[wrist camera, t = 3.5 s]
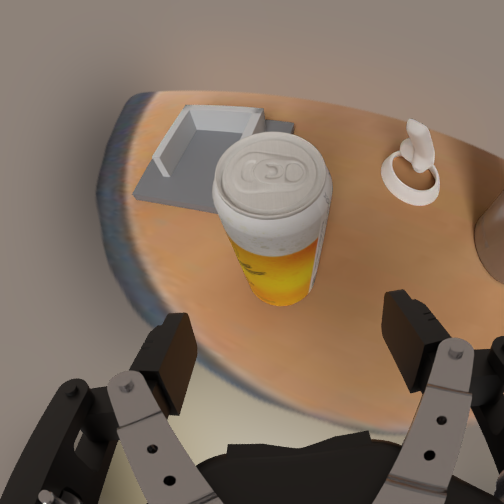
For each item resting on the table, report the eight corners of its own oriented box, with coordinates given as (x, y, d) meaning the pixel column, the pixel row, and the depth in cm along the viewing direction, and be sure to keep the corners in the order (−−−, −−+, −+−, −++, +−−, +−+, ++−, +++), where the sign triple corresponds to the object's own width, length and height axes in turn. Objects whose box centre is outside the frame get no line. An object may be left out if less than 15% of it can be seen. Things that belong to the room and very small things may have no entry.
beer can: (254, 243, 29) (221, 126, 15) (316, 248, 28) (333, 129, 14) (244, 304, 26) (192, 220, 13) (311, 311, 25) (334, 230, 12)
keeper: (294, 129, 34) (293, 101, 30) (265, 223, 29) (260, 196, 25) (182, 120, 38) (172, 96, 34) (136, 199, 33) (118, 176, 29)
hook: (346, 164, 25) (374, 101, 23) (378, 192, 34) (399, 145, 32) (418, 199, 21) (447, 129, 19) (428, 219, 30) (450, 169, 28)
